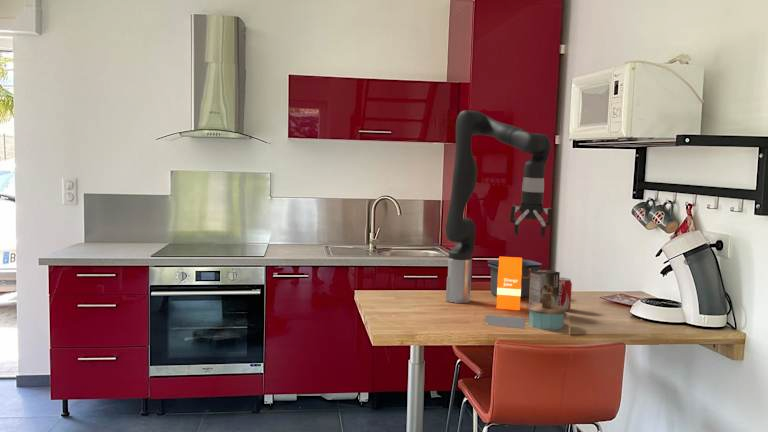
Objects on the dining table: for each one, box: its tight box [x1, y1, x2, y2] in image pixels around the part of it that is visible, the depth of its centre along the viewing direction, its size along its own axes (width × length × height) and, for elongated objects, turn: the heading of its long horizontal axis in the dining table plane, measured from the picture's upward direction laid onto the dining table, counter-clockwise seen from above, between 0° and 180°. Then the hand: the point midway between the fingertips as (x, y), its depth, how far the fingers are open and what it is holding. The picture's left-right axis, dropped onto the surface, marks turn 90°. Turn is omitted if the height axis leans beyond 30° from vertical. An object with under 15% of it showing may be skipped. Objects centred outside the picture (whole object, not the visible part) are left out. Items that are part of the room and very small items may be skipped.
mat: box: [483, 314, 526, 329], centre depth 223 cm, size 14×14×1 cm
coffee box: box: [528, 269, 561, 312], centre depth 237 cm, size 9×6×16 cm
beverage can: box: [558, 277, 573, 312], centre depth 245 cm, size 6×6×12 cm
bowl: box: [528, 311, 564, 331], centre depth 219 cm, size 11×11×6 cm
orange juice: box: [495, 256, 523, 311], centre depth 244 cm, size 8×9×20 cm
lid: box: [526, 292, 567, 315], centre depth 218 cm, size 13×13×6 cm
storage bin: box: [487, 259, 543, 298], centre depth 267 cm, size 21×16×14 cm
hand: (529, 235), depth 228 cm, fingers open, 8 cm apart
